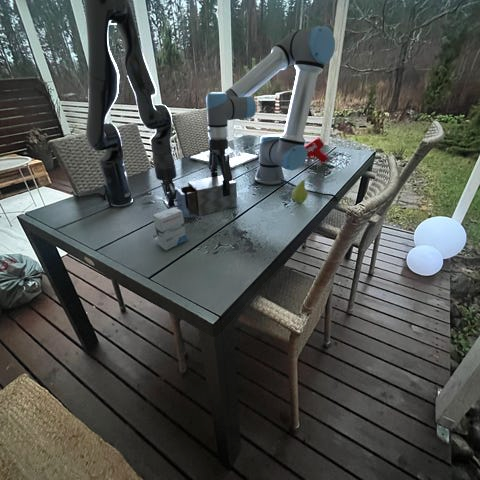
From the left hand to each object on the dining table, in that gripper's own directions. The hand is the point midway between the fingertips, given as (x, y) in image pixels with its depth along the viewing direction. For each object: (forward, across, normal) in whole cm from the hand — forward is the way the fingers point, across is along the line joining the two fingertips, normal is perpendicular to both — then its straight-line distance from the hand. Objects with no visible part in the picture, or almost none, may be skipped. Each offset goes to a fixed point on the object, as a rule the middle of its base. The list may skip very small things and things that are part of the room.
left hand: (172, 207), depth 109 cm
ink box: (+4, +20, -7) cm, 22 cm away
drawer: (+3, 0, +8) cm, 9 cm away
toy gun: (+5, -27, +98) cm, 101 cm away
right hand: (-2, 0, +22) cm, 22 cm away
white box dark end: (+4, 0, +18) cm, 18 cm away
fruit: (+4, +16, +53) cm, 56 cm away
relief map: (+4, -62, +55) cm, 83 cm away
